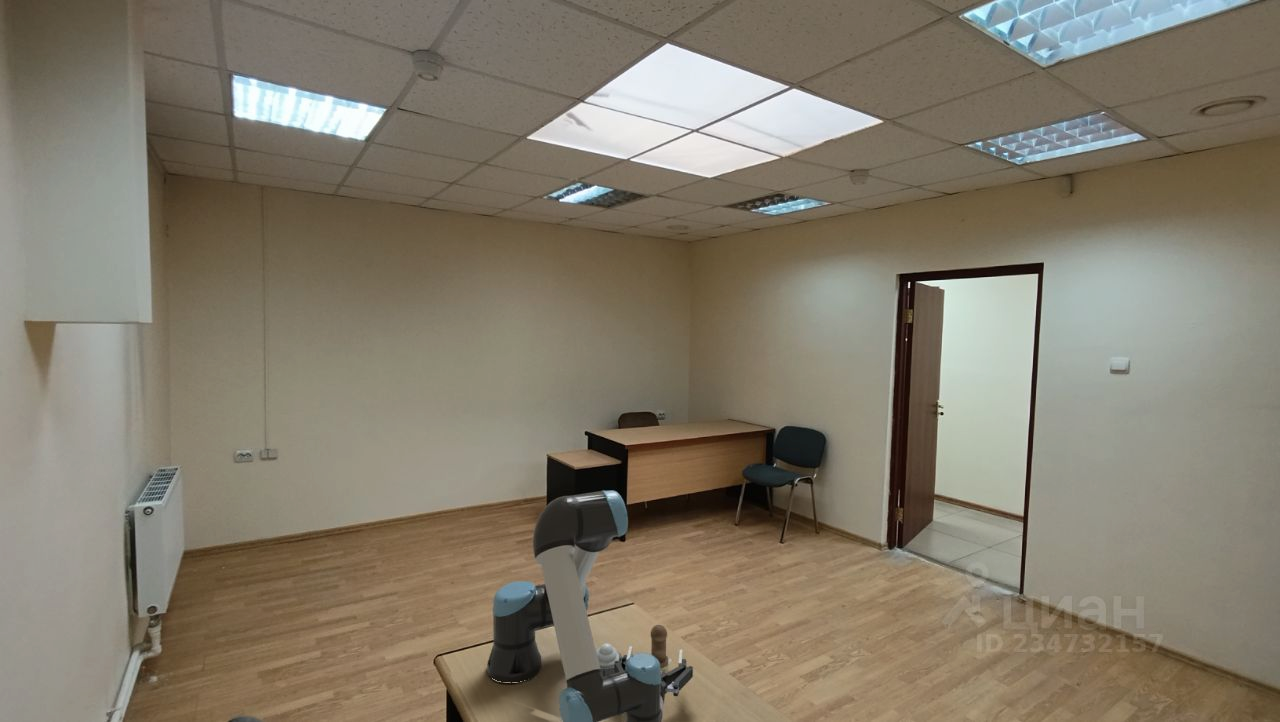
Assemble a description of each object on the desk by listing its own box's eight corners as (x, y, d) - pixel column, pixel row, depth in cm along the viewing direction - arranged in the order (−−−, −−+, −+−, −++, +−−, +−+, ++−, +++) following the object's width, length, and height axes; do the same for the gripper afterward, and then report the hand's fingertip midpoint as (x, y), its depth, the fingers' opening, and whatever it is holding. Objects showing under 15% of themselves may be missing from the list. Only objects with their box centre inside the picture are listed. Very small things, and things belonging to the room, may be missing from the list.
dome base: (584, 679, 158) (584, 663, 158) (600, 662, 166) (600, 647, 166) (612, 688, 154) (612, 671, 154) (628, 671, 162) (628, 655, 162)
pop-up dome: (588, 666, 159) (588, 647, 158) (601, 654, 165) (601, 635, 165) (611, 673, 155) (611, 653, 155) (623, 660, 162) (623, 641, 162)
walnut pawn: (645, 664, 164) (645, 627, 163) (654, 654, 169) (654, 619, 168) (663, 669, 161) (663, 632, 161) (671, 659, 166) (671, 623, 166)
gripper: (595, 713, 136) (610, 662, 157) (701, 722, 133) (702, 669, 154) (595, 682, 135) (610, 635, 156) (701, 690, 132) (702, 642, 154)
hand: (656, 652), depth 155 cm, fingers open, 13 cm apart
